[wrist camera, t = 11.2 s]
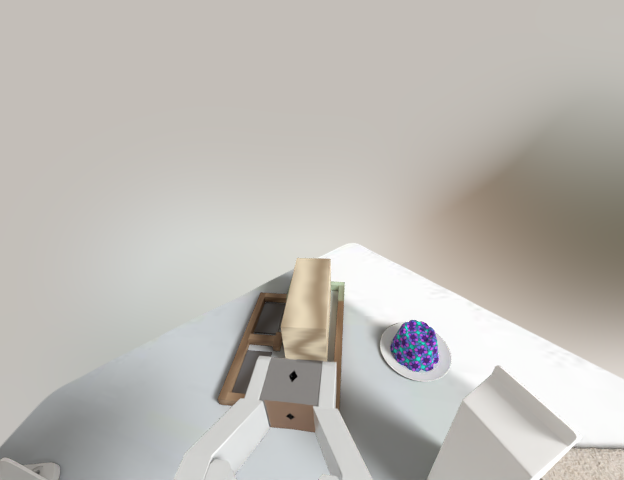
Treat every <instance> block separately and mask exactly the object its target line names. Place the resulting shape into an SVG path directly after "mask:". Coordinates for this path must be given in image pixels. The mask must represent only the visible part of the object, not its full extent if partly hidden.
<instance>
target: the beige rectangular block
mask: <svg viewBox="0 0 624 480" xmlns="http://www.w3.org/2000/svg"><path fill="white" fill-rule="evenodd" d="M330 301H331V263H330V259H312V258H309V259H308V258H297V260H296V265H295V268H294V272H293V277H292V281H291V285H290V289H289V294H288V298H287V302H286V306H285V310H284V315H283V319H282V323H281V332H282V339H283V345H284V352H285V358H288V359H303V360H318V361H327V357H328V338H329V319H330Z"/></svg>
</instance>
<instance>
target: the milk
mask: <svg viewBox="0 0 624 480" xmlns="http://www.w3.org/2000/svg"><path fill="white" fill-rule="evenodd" d="M581 438H582V436H581V435H580V434H579V433H578V432H577V431H575V430H574V429H573V428H572V427H571V426H570V425H568V424H567V423H566V422H565V421H564V420H563V419H562V418H560V417H559V416H558V415H557V414H556V413H555V412H554V411H552V410H551V409H550V408H549V407H548V406H547V405H546V404H544V403H543V402H542V401H541V400H540V399H539V398H538V397H536V396H535V395H534V394H533V393H532V392H531V391H530V390H528V389H527V388H526V387H525V386H524V385H523V384H522V383H520V382H519V381H518V380H517V379H516V378H515V377H513V376H512V375H511V374H510V373H509V372H507V371H506V370H505V369H503V368H502V367H501V366H496V367H495V369H494V371H493V373H492V374H491V375H490V376H489V377H488V378H487V379H486V380H485V381H483V382H482V383H481V384H480V385H479V386H478V387H477V388H475V389H474V390H473V391H472V392H471V393H470V394H468V395H467V396H466V397H465V398H464V399H463V400H462V402H461V405H460V407H459V409H458V411H457V413H456V416H455V418H454V420H453V422H452V424H451V427H450V429H449V431H448V433H447V435H446V438H445V440H444V442H443V444H442V446H441V449H440V451H439V453H438V455H437V458H436V460H435V462H434V464H433V466H432V469H431V471H430V473H429V475H428V477H427V480H540V479H541V478H542V477H543V476H544V475H545V474H546V473H547V472H548V471H549V470H550V469H551V468H552V467H553V466H554V465H555V464H556V463H557V462H558V461H559V460H560V459H561V458H562V457H563V456H564V455H565V454H566V453H567V452H568V451H569V450H570V449H571V448H572V447H573V446H574V445H575V444H576V443H577V442H578V441H579V440H580V439H581Z"/></svg>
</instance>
